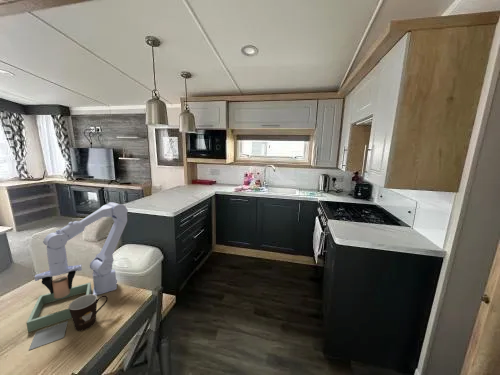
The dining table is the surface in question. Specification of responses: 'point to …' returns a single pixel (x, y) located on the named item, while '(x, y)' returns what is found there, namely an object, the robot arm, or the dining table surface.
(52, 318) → the green square frame
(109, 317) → the dining table surface
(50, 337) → the slate mat
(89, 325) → the coffee mug
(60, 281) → the pink plant pot
